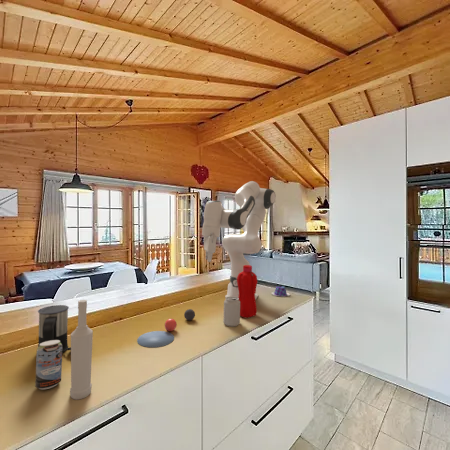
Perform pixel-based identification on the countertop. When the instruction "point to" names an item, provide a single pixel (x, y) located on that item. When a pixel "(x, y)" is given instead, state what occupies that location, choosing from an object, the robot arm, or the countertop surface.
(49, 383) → the beverage can
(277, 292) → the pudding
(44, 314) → the milk frother
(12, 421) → the countertop surface
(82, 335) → the bottle
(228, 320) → the can
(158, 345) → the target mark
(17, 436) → the countertop surface
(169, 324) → the object ball
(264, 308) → the countertop surface
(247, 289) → the water bottle
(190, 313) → the dark grey ball
